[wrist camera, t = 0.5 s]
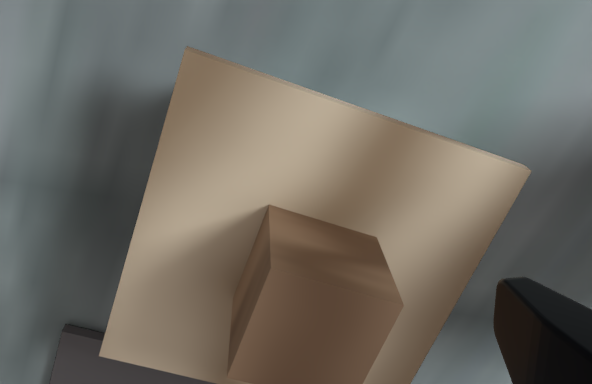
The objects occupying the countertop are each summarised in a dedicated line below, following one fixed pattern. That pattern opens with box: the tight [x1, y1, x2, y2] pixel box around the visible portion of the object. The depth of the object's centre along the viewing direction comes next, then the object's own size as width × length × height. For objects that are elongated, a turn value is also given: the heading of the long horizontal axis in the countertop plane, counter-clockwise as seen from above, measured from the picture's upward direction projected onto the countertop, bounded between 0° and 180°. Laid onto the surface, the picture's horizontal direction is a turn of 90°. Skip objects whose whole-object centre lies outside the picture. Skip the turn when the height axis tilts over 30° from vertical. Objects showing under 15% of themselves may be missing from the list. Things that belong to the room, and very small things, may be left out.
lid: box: [99, 46, 531, 384], centre depth 18 cm, size 12×12×5 cm
